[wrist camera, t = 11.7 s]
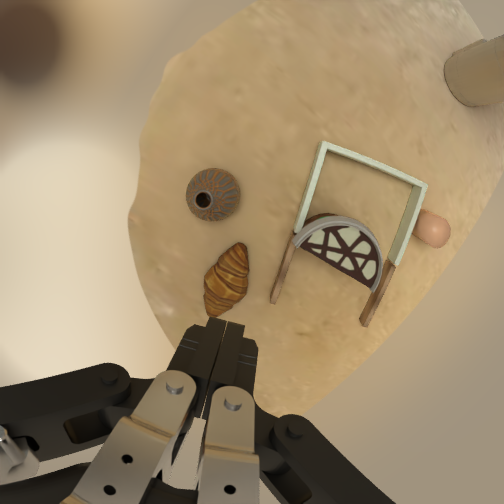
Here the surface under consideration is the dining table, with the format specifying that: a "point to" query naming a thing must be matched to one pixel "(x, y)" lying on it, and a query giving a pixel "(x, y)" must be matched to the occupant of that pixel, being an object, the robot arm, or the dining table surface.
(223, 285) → the croissant
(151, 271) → the dining table surface
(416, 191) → the bay
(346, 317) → the dining table surface
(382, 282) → the brown flat strips
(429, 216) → the tan rounded piece
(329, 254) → the food container
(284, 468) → the robot arm
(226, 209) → the vase
